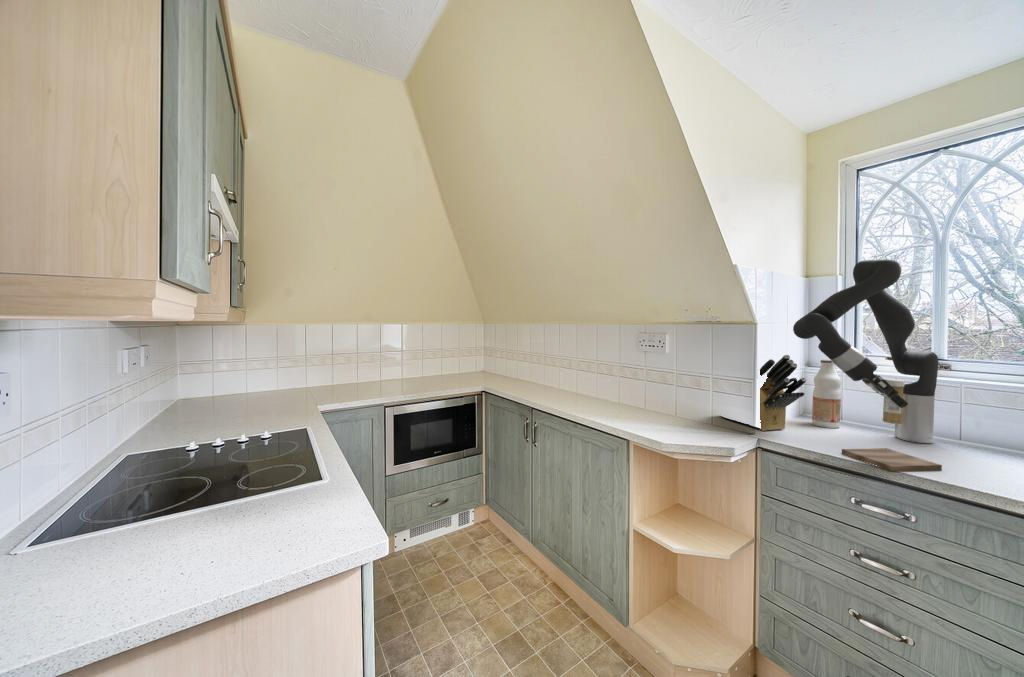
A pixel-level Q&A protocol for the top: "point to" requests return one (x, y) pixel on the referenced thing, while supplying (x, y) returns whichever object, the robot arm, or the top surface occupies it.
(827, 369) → the fruit juice
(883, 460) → the walnut board
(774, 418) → the knife block
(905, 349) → the robot arm
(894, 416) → the sprinkles bottle
